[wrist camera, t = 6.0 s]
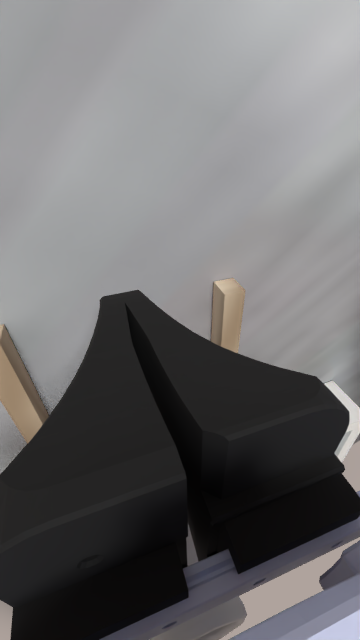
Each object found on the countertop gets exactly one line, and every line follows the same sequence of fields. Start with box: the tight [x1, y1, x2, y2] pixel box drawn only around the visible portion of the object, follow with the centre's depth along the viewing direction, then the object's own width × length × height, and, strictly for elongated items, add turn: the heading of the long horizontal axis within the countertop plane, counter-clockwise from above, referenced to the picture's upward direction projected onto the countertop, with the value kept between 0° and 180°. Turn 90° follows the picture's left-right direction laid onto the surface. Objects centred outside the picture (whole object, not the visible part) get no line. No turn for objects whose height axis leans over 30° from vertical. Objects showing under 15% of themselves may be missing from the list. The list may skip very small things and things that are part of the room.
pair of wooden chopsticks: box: [0, 278, 245, 444], centre depth 19 cm, size 11×23×1 cm, turn 2°
